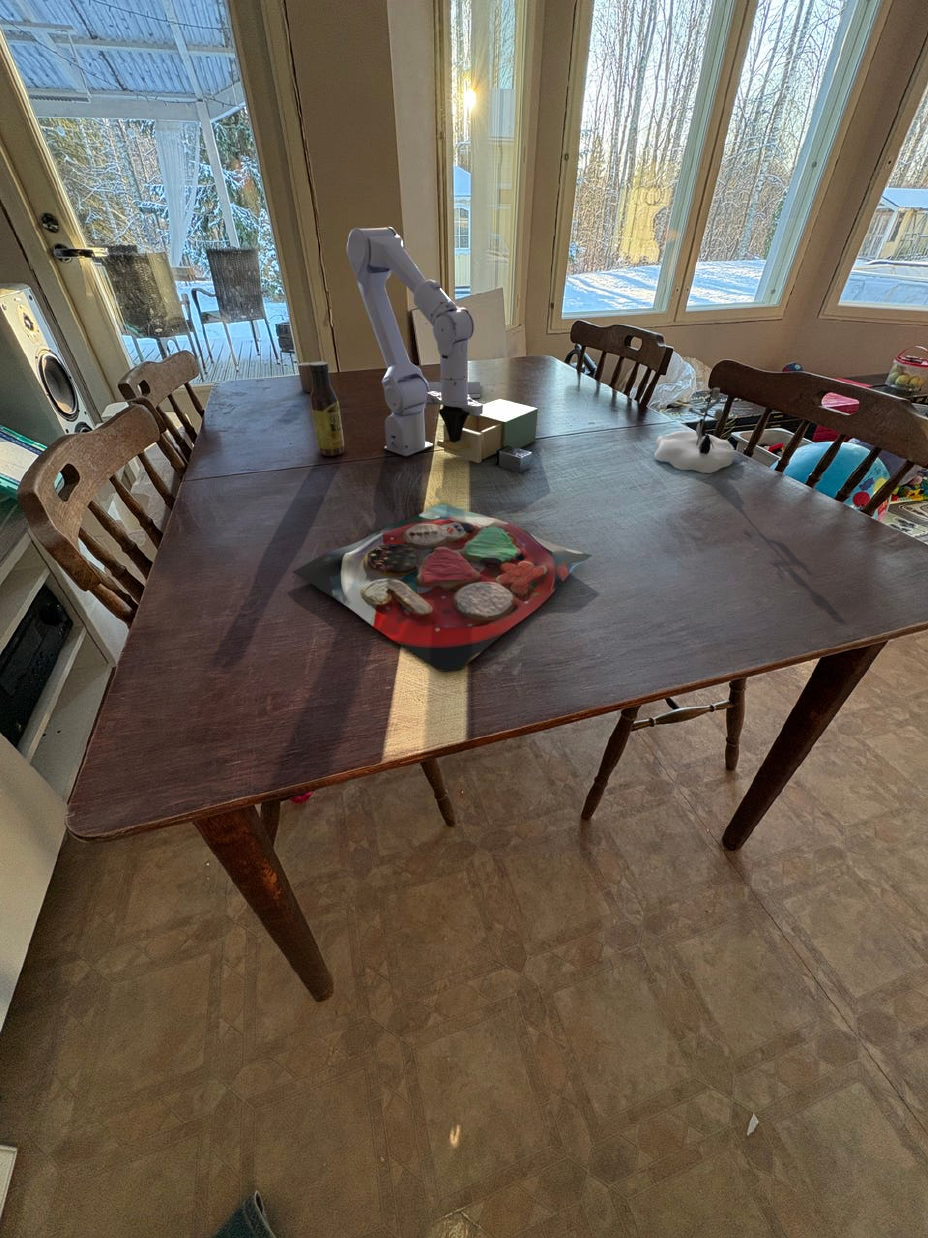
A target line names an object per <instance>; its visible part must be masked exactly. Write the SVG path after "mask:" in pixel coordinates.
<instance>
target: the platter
mask: <svg viewBox="0 0 928 1238" xmlns="http://www.w3.org/2000/svg"><path fill="white" fill-rule="evenodd" d="M592 556H593V554H590V553H585V552H582V551H579V550H574V549H571V548H568V547H563V546H560V545H557V544H554V543H552V542H549V541H547V540H545V539H542V538H541V537H538V536H536V535H534V534H532V533H530V532H529V531H527V530H524V529H523V528H521V527H519V526H516V525H514V524H511V523H509V522H506V521H504V520H501V519H497V518H494V517H491V516H487V515H484V514H481V513H476V512H472V511H469V510H465V509H461V508H458V507H454V506H450V505H447V504H443V503H438V504H437V505H435V506H433V507H431V508H429V509H427V510H425V511H423V512H421V513H419V514H417V515H414V516H411V517H409V518H407V519H404V520H401V521H399V522H397V523H394V524H392V525H389V526H386V527H384V528H383V529H379V530H376V531H374V532H373V533H371V534H370V535H368V536H366V537H364V538H362V539H360V540H359V541H357V542H354V543H352V544H349V545H346V546H342V547H339V548H335V549H332V550H330V551H327V552H325V553H323V554H321V555H320V556H317V557H316V558H313V559H312V560H311V561H309V562H307V563H306V564H304V565H302V566H300V567H298V568H297V569H295V570H293V571H292V573H293V574H295V576H298V577H300V578H302V579H303V580H305V581H306V582H308V583H309V584H310V585H312V586H314V587H316V588H317V589H318V590H320V591H322V592H323V593H325V594H326V595H329V596H330V597H332V598H333V599H335V600H336V601H338V602H340V603H341V604H343V605H344V606H346V607H347V608H349V609H350V610H351V611H352V612H354V613H355V614H356V615H358V616H359V617H360V618H361V619H362V620H364V621H365V622H366V623H368V624H369V625H370V626H372V627H373V628H375V629H376V630H377V631H379V632H380V633H381V634H383V635H385V636H386V637H388V638H389V639H390V640H392V641H393V642H395V643H396V644H398V645H400V646H401V647H403V648H404V649H406V650H407V651H409V652H410V653H412V654H413V655H415V656H416V657H418V658H419V659H420V660H423V661H424V662H426V663H428V664H429V665H430V666H432V667H434V668H436V669H438V670H439V671H441V672H446V671H461V670H462V669H463V668H464V667H465V666H467V665H468V664H469V663H470V662H472V661H473V660H474V659H475V658H476V657H478V656H479V655H480V654H481V653H482V652H483V651H484V650H486V649H487V648H488V647H489V646H490V645H492V644H493V643H494V642H496V641H497V640H498V639H499V638H500V637H502V636H503V635H504V634H505V633H506V632H508V631H509V630H510V629H511V628H513V627H514V626H516V625H517V624H519V623H520V622H522V621H523V620H524V619H525V618H527V617H528V616H530V615H531V614H532V613H533V612H535V611H536V610H537V609H539V607H540V606H542V604H543V603H545V602H546V601H547V600H548V599H549V597H551V596H552V595H553V594H554V592H555V591H557V589H558V588H559V587H560V585H561V584H562V583H563V582H564V581H565V580H566V579H567V577H568V576H569V575H571V574H572V573H573V572H575V570H576V569H577V568H578V567H581V566H582V564H584V563H585V562H586V561H587V560H589V559H590V558H591V557H592Z"/></svg>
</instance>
